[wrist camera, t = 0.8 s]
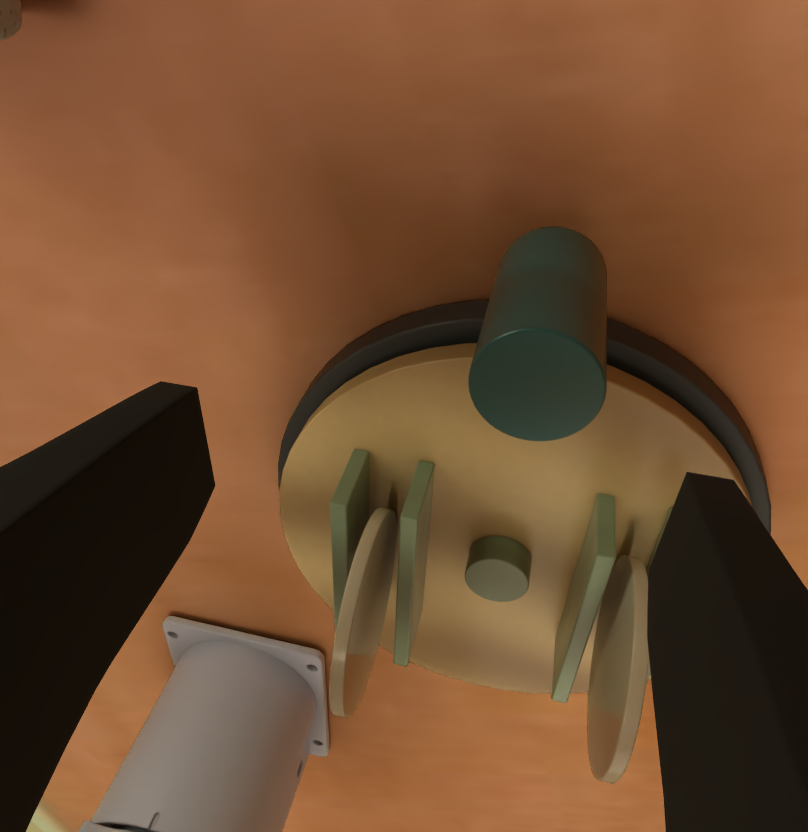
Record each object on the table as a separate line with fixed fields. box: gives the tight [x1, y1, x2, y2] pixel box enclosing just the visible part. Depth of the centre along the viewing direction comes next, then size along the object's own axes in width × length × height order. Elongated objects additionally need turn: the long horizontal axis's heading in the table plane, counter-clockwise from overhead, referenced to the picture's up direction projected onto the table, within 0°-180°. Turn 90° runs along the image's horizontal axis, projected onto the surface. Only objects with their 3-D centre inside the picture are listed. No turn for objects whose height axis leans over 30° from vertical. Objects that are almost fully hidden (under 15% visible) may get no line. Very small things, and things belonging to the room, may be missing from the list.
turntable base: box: [278, 300, 771, 534], centre depth 23 cm, size 16×16×1 cm
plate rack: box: [279, 227, 753, 784], centre depth 19 cm, size 18×15×7 cm
